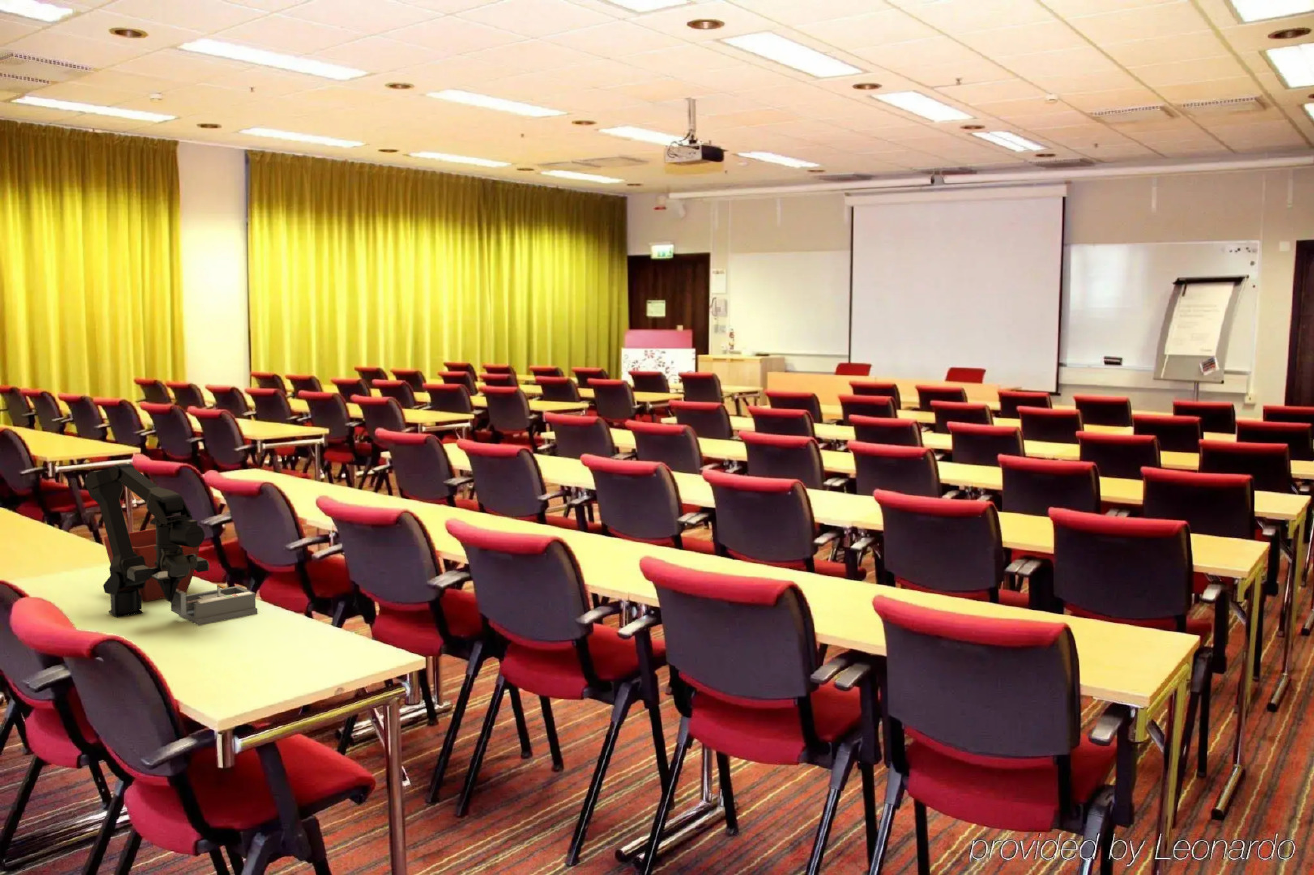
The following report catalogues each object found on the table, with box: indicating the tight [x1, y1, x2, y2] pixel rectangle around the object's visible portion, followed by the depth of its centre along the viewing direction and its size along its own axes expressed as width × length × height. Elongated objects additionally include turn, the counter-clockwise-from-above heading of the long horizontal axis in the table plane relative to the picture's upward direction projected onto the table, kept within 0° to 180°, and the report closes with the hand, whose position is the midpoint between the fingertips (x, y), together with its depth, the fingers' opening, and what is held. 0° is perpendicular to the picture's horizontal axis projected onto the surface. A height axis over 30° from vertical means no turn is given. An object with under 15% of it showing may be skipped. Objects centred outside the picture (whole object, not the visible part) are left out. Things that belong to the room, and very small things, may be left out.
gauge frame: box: [178, 585, 258, 626], centre depth 280 cm, size 16×12×6 cm
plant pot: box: [103, 528, 201, 602], centre depth 297 cm, size 19×19×17 cm
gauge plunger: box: [170, 583, 226, 617], centre depth 275 cm, size 13×9×7 cm
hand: (169, 601), depth 270 cm, fingers closed
